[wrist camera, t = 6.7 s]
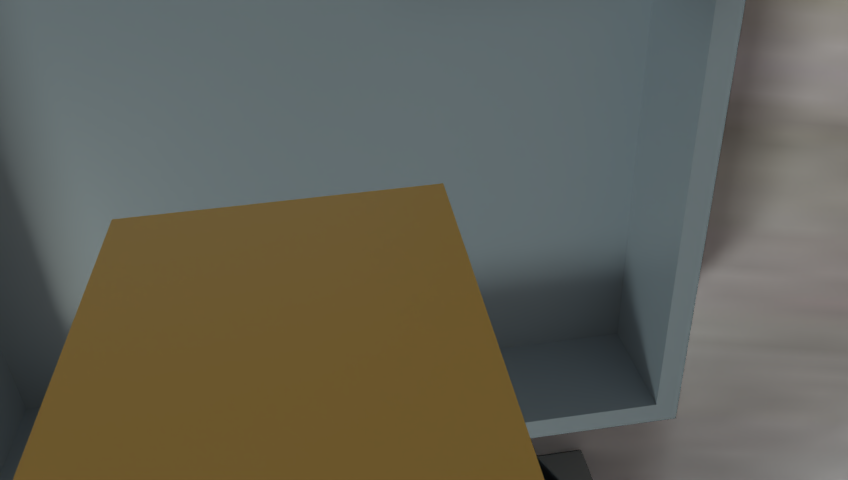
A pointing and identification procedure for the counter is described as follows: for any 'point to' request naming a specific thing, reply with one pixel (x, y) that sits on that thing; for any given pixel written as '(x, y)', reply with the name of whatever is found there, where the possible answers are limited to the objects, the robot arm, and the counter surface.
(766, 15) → the counter surface
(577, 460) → the grey square socket tray
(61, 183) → the parts tray
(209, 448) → the block
